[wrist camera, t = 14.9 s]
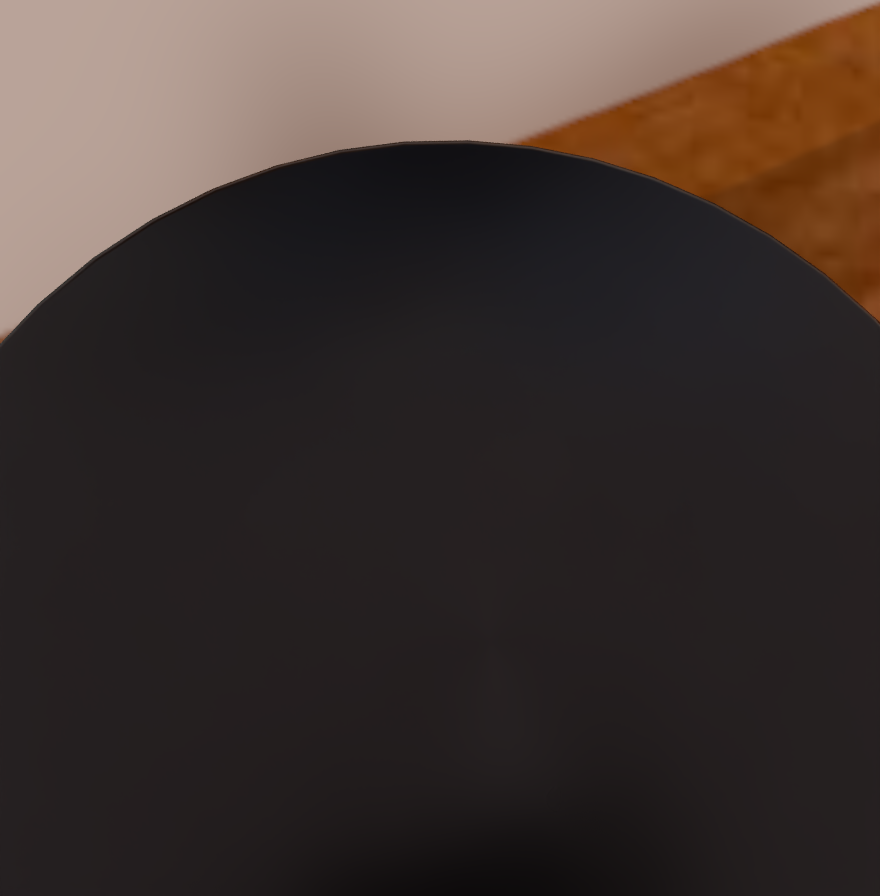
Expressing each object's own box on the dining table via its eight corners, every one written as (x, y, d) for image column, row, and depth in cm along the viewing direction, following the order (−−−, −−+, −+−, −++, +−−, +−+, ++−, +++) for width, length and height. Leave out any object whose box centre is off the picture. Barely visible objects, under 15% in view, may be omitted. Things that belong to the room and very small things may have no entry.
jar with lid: (618, 700, 18) (1283, 628, 5) (402, 961, 16) (552, 2001, 3) (397, 490, 19) (460, -21, 6) (171, 710, 17) (-463, 658, 4)
